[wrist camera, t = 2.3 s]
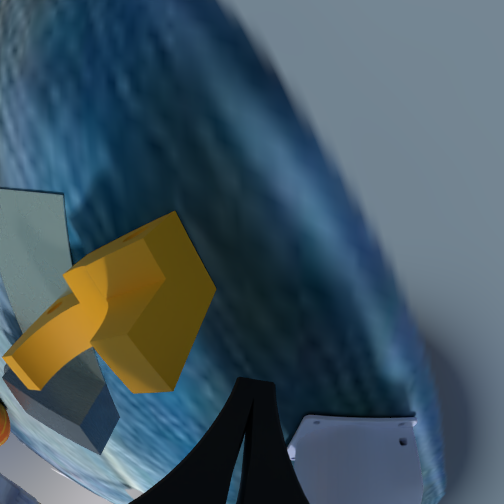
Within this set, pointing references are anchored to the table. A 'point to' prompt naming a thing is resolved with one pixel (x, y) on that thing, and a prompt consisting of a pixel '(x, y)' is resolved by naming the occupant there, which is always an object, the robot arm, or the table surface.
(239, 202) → the table surface
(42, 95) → the table surface
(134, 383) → the pipe clamp
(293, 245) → the table surface
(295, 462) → the robot arm
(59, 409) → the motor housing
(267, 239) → the table surface
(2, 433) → the pumpkin
